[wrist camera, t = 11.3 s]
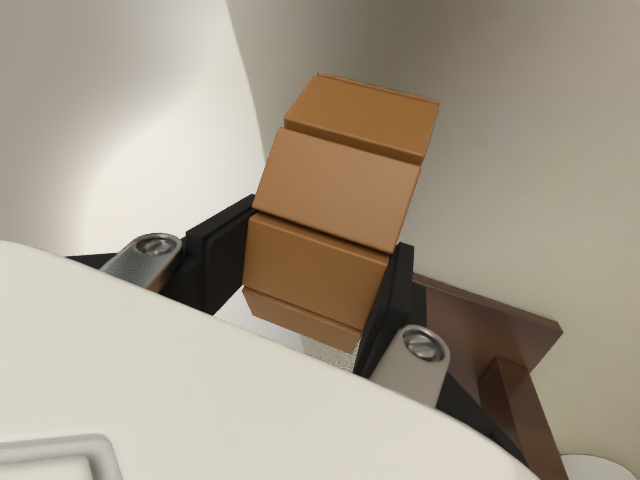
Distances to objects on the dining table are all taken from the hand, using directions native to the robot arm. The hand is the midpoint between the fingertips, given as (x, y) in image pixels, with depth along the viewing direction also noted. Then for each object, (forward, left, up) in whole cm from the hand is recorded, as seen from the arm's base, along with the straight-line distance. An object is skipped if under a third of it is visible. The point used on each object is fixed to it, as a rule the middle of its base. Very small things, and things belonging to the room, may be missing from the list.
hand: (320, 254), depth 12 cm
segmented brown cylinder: (0, 0, -4) cm, 4 cm away
